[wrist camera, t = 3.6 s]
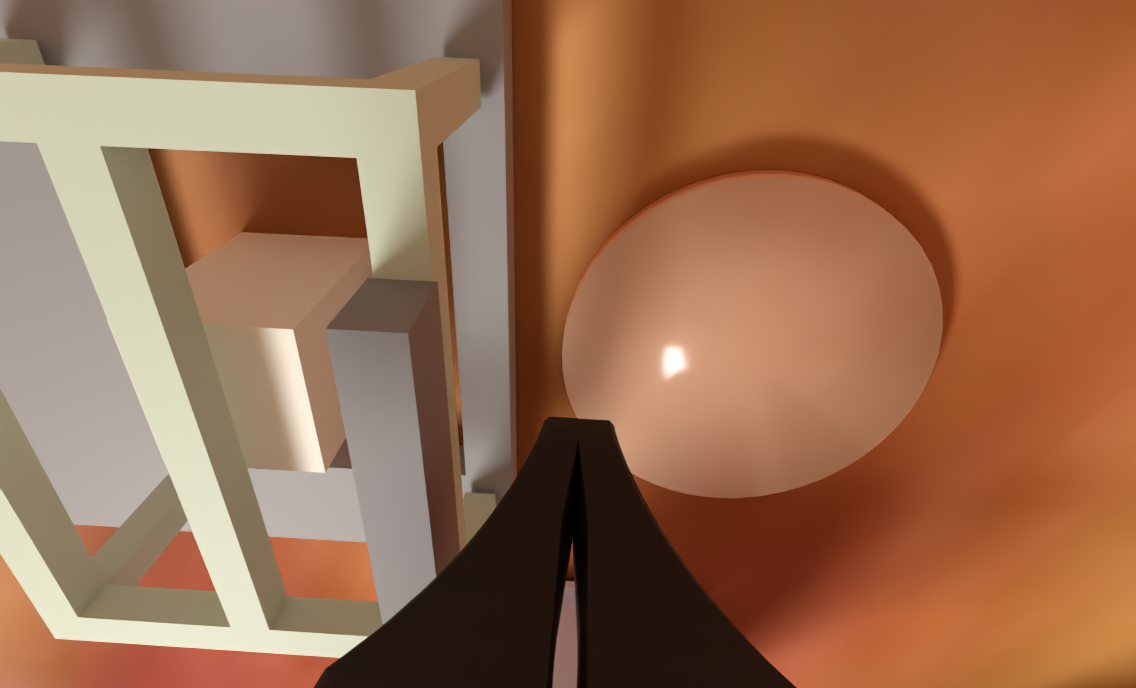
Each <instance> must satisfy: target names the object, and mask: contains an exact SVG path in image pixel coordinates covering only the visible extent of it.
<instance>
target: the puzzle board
mask: <svg viewBox="0 0 1136 688" xmlns="http://www.w3.org/2000/svg"><path fill="white" fill-rule="evenodd" d="M0 38H3V39H26V40H36V42H37V45H38V47H39V50H40V53H41V55H42V58H43V61H44V64H45V65H56V66H79V67H102V68H125V69H147V70H170V71H193V72H216V73H239V74H262V75H285V76H308V77H331V78H354V79H372V78H375V77H378V76H380V75H383V74H386V73H389V72H392V71H395V70H398V69H401V68H404V67H406V66H409V65H412V64H415V63H418V62H421V61H424V60H427V59H430V58H433V57H449V58H473V59H480V87H481V108H480V109H479V110H477V111H476V112H475V113H474V114H473V115H472V116H471V117H470V118H469V119H468V120H466V121H465V122H464V123H463V124H462V125H461V126H460V127H459V128H458V129H456V130H455V131H454V132H453V133H452V134H451V135H450V136H449V137H448V138H446V139H445V140H444V141H443V149H444V164H445V179H446V193H447V208H448V222H449V237H450V251H451V266H452V280H453V295H454V310H455V324H456V339H457V353H458V368H459V382H460V397H461V412H462V426H463V441H464V445H459V451H460V465H461V478H462V492H463V498H464V495H465V492H470V493H486V494H495V499H496V507H497V505H498V504H499V502H500V501H501V499H502V498H503V497H504V495H505V494H506V492H507V491H508V490H509V488H510V487H511V485H512V483H513V482H514V480H515V479H516V477H517V426H516V337H515V248H514V159H513V70H512V0H0ZM0 389H1V391H2V393H3V394H4V396H5V398H6V400H7V402H8V404H9V406H10V407H11V409H12V411H13V413H14V415H15V417H16V419H17V420H18V422H19V424H20V426H21V428H22V430H23V432H24V433H25V435H26V437H27V439H28V441H29V443H30V445H31V446H32V448H33V450H34V452H35V454H36V456H37V458H38V459H39V461H40V463H41V465H42V467H43V469H44V471H45V472H46V474H47V476H48V478H49V480H50V482H51V484H52V485H53V487H54V489H55V491H56V493H57V495H58V497H59V498H60V500H61V502H62V504H63V506H64V508H65V510H66V511H67V513H68V515H69V517H70V519H71V521H72V523H73V524H79V525H95V526H111V527H120V526H121V525H122V524H123V523H124V522H125V521H126V520H127V519H128V518H129V517H130V515H131V514H132V513H133V512H134V511H135V510H136V509H137V508H138V507H139V506H140V504H141V503H142V502H143V501H144V500H145V499H146V498H147V497H148V496H149V495H150V493H151V492H152V491H153V490H154V489H155V488H156V487H157V486H158V485H159V484H160V483H161V481H162V480H163V479H164V478H165V477H166V476H167V475H168V474H169V472H168V470H167V467H166V465H165V463H164V461H163V458H162V456H161V453H160V451H159V448H158V446H157V443H156V441H155V438H154V436H153V433H152V431H151V428H150V426H149V423H148V421H147V418H146V416H145V413H144V411H143V409H142V406H141V404H140V401H139V399H138V396H137V394H136V391H135V389H134V386H133V384H132V381H131V379H130V376H129V374H128V371H127V369H126V366H125V364H124V361H123V359H122V356H121V354H120V351H119V349H118V346H117V344H116V341H115V339H114V336H113V334H112V331H111V329H110V327H109V324H108V322H107V317H106V315H105V312H104V310H103V308H102V305H101V303H100V300H99V298H98V295H97V293H96V290H95V288H94V285H93V283H92V280H91V278H90V275H89V273H88V270H87V268H86V265H85V263H84V260H83V258H82V255H81V253H80V250H79V248H78V245H77V243H76V240H75V238H74V235H73V233H72V230H71V228H70V225H69V223H68V220H67V218H66V215H65V213H64V210H63V208H62V205H61V203H60V200H59V198H58V195H57V193H56V190H55V188H54V185H53V183H52V180H51V178H50V175H49V173H48V170H47V168H46V165H45V163H44V160H43V158H42V155H41V153H40V150H39V148H38V145H37V143H25V142H4V141H0ZM247 469H248V472H249V475H250V479H251V482H252V485H253V488H254V491H255V495H256V498H257V501H258V504H259V507H260V511H261V514H262V517H263V520H264V524H265V527H266V530H267V533H268V536H271V537H287V538H304V539H320V540H336V541H352V542H366V536H365V531H364V526H363V521H362V516H361V511H360V506H359V500H358V495H357V490H356V485H355V480H354V475H353V470H352V464H351V459H350V454H349V449H348V444H347V439H345V440H344V442H343V443H342V445H341V447H340V449H339V450H338V452H337V454H336V456H335V457H334V459H333V461H332V462H331V464H330V466H329V468H328V469H327V471H326V473H319V472H302V471H285V470H268V469H251V468H247ZM180 531H191V532H192V530H191V527H190V525H189V522H188V521H187V522H186V523H185V525H184V526H183V527H182V528H181V530H180Z"/></svg>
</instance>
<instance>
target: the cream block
mask: <svg viewBox="0 0 1136 688" xmlns="http://www.w3.org/2000/svg"><path fill="white" fill-rule="evenodd" d="M185 270H186V273H187V276H188V280H189V283H190V286H191V289H192V292H193V296H194V299H195V302H196V305H197V308H198V312H199V315H200V318H201V321H202V324H203V328H204V331H205V334H206V337H207V341H208V344H209V347H210V350H211V353H212V357H213V360H214V363H215V366H216V369H217V373H218V376H219V379H220V382H221V385H222V389H223V392H224V395H225V398H226V402H227V405H228V408H229V411H230V414H231V418H232V421H233V424H234V427H235V430H236V434H237V437H238V440H239V443H240V446H241V450H242V453H243V456H244V459H245V463H246V466H247V468H251V469H268V470H285V471H302V472H319V473H326V471H327V469H328V468H329V466H330V464H331V462H332V461H333V459H334V457H335V456H336V454H337V452H338V450H339V449H340V447H341V445H342V443H343V442H344V440H345V438H346V434H345V428H344V423H343V418H342V413H341V408H340V403H339V398H338V392H337V387H336V382H335V377H334V372H333V367H332V362H331V357H330V351H329V346H328V341H327V336H326V331H325V328H326V327H327V326H328V325H329V324H330V322H331V321H332V320H333V319H334V318H335V316H336V315H337V314H338V313H339V312H340V310H341V309H342V308H343V307H344V306H345V305H346V303H347V302H348V301H349V300H350V299H351V297H352V296H353V295H354V294H355V293H356V291H357V290H358V289H359V288H360V287H361V285H362V284H363V283H364V282H365V281H366V279H367V278H373V272H372V265H371V258H370V250H369V243H368V238H351V237H331V236H310V235H290V234H270V233H250V232H241V233H239V234H238V235H236V236H235V237H233V238H231V239H230V240H228V241H227V242H225V243H224V244H222V245H221V246H219V247H218V248H216V249H215V250H213V251H211V252H210V253H208V254H207V255H205V256H204V257H202V258H201V259H199V260H198V261H196V262H194V263H193V264H191V265H190V266H188V267H187V268H185ZM107 322H108V320H107ZM108 324H109V322H108ZM109 327H110V325H109ZM110 329H111V327H110ZM111 331H112V330H111ZM112 334H113V332H112ZM113 336H114V335H113ZM114 339H115V337H114ZM115 341H116V340H115ZM116 344H117V342H116ZM117 346H118V345H117ZM118 349H119V347H118ZM119 351H120V350H119ZM120 354H121V352H120ZM121 356H122V355H121ZM122 359H123V357H122ZM123 361H124V360H123ZM124 364H125V362H124ZM125 366H126V365H125ZM126 369H127V367H126ZM127 371H128V370H127ZM128 374H129V372H128ZM129 376H130V375H129ZM130 379H131V377H130ZM131 381H132V380H131ZM132 384H133V382H132ZM133 386H134V385H133ZM134 389H135V387H134ZM135 391H136V390H135ZM136 394H137V392H136ZM137 396H138V395H137ZM138 399H139V397H138ZM139 401H140V400H139ZM140 404H141V402H140ZM141 406H142V405H141ZM142 409H143V407H142ZM143 411H144V410H143ZM144 413H145V412H144ZM145 416H146V415H145ZM146 418H147V417H146ZM147 421H148V420H147ZM148 423H149V422H148ZM149 426H150V425H149ZM150 428H151V427H150ZM151 431H152V430H151ZM152 433H153V432H152ZM153 436H154V435H153ZM154 438H155V437H154ZM155 441H156V440H155ZM156 443H157V442H156ZM157 446H158V445H157ZM158 448H159V447H158ZM159 451H160V450H159ZM160 453H161V452H160ZM161 456H162V455H161ZM162 458H163V457H162ZM163 461H164V460H163ZM164 463H165V462H164Z"/></svg>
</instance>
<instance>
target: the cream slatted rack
mask: <svg viewBox="0 0 1136 688" xmlns="http://www.w3.org/2000/svg"><path fill="white" fill-rule="evenodd" d="M480 108H481V87H480V59H473V58H449V57H433V58H430V59H427V60H424V61H421V62H418V63H415V64H412V65H409V66H406V67H404V68H401V69H398V70H395V71H392V72H389V73H386V74H383V75H380V76H378V77H375V78H372V79H354V78H331V77H308V76H285V75H262V74H239V73H216V72H193V71H170V70H147V69H125V68H102V67H79V66H56V65H45V64H44V61H43V58H42V55H41V53H40V50H39V47H38V45H37V42H36V40H26V39H3V38H0V141H4V142H25V143H37V145H38V148H39V150H40V153H41V155H42V158H43V160H44V163H45V165H46V168H47V170H48V173H49V175H50V178H51V180H52V183H53V185H54V188H55V190H56V193H57V195H58V198H59V200H60V203H61V205H62V208H63V210H64V213H65V215H66V218H67V220H68V223H69V225H70V228H71V230H72V233H73V235H74V238H75V240H76V243H77V245H78V248H79V250H80V253H81V255H82V258H83V260H84V263H85V265H86V268H87V270H88V273H89V275H90V278H91V280H92V283H93V285H94V288H95V290H96V293H97V295H98V298H99V300H100V303H101V305H102V308H103V310H104V312H105V315H106V317H107V320H108V322H109V325H110V327H111V330H112V332H113V335H114V337H115V340H116V342H117V345H118V347H119V350H120V352H121V355H122V357H123V360H124V362H125V365H126V367H127V370H128V372H129V375H130V377H131V380H132V382H133V385H134V387H135V390H136V392H137V395H138V397H139V400H140V402H141V405H142V407H143V410H144V412H145V415H146V417H147V420H148V422H149V425H150V427H151V430H152V432H153V435H154V437H155V440H156V442H157V445H158V447H159V450H160V452H161V455H162V457H163V460H164V462H165V465H166V467H167V470H168V472H169V474H168V475H167V476H166V477H165V478H164V479H163V480H162V481H161V483H160V484H159V485H158V486H157V487H156V488H155V489H154V490H153V491H152V492H151V493H150V495H149V496H148V497H147V498H146V499H145V500H144V501H143V502H142V503H141V504H140V506H139V507H138V508H137V509H136V510H135V511H134V512H133V513H132V514H131V515H130V517H129V518H128V519H127V520H126V521H125V522H124V523H123V524H122V525H121V526H120V528H119V529H118V530H117V531H116V532H115V533H114V534H113V535H112V536H111V537H110V538H109V540H108V541H107V542H106V543H105V544H104V545H103V546H102V547H101V548H100V549H99V551H98V552H97V553H96V554H95V555H94V556H93V557H92V558H91V556H90V554H89V552H88V550H87V549H86V547H85V545H84V543H83V541H82V539H81V537H80V536H79V534H78V532H77V530H76V528H75V526H74V524H73V523H72V521H71V519H70V517H69V515H68V513H67V511H66V510H65V508H64V506H63V504H62V502H61V500H60V498H59V497H58V495H57V493H56V491H55V489H54V487H53V485H52V484H51V482H50V480H49V478H48V476H47V474H46V472H45V471H44V469H43V467H42V465H41V463H40V461H39V459H38V458H37V456H36V454H35V452H34V450H33V448H32V446H31V445H30V443H29V441H28V439H27V437H26V435H25V433H24V432H23V430H22V428H21V426H20V424H19V422H18V420H17V419H16V417H15V415H14V413H13V411H12V409H11V407H10V406H9V404H8V402H7V400H6V398H5V396H4V394H3V393H2V391H1V389H0V554H1V555H2V557H3V559H4V560H5V562H6V563H7V565H8V566H9V568H10V569H11V571H12V572H13V574H14V576H15V577H16V579H17V580H18V582H19V583H20V585H21V586H22V588H23V589H24V591H25V593H26V594H27V596H28V597H29V599H30V600H31V602H32V603H33V605H34V606H35V608H36V609H37V611H38V613H39V614H40V616H41V617H42V619H43V620H44V622H45V623H46V625H47V626H48V628H49V630H50V631H51V633H52V634H53V636H54V637H55V639H68V640H83V641H98V642H113V643H128V644H143V645H158V646H173V647H188V648H203V649H218V650H233V651H247V652H262V653H277V654H292V655H307V656H322V657H337V658H341V657H342V656H343V655H345V654H346V653H347V652H349V651H350V650H351V649H353V648H354V647H355V646H357V645H358V644H359V643H360V642H362V641H363V640H364V639H366V638H367V637H368V636H370V635H371V634H372V633H374V632H375V631H376V630H377V629H379V628H380V627H381V626H382V625H384V624H385V623H386V622H387V621H388V620H389V619H391V618H392V617H393V616H394V615H395V614H396V613H397V612H398V611H400V610H401V609H402V608H403V607H404V606H405V605H406V604H408V603H409V602H410V601H411V600H412V599H413V598H414V597H415V596H417V595H418V594H419V593H420V592H421V591H422V590H423V589H424V588H425V587H426V586H427V585H428V584H430V583H431V582H432V581H433V580H434V579H435V578H436V577H437V576H438V575H439V574H440V573H441V571H442V570H443V569H444V568H445V567H446V566H447V565H448V564H449V563H450V562H451V561H452V560H453V559H454V558H455V557H456V556H457V555H458V553H459V552H460V551H461V550H462V549H463V548H464V547H465V546H466V544H467V543H468V542H469V541H470V540H471V539H472V537H473V536H474V535H475V534H476V533H477V531H478V530H479V529H480V528H481V527H482V525H483V524H484V523H485V521H486V520H487V519H488V518H489V516H490V515H491V514H492V512H493V511H494V509H495V508H496V499H495V494H486V493H470V492H465V495H464V498H463V492H462V478H461V465H460V451H459V438H458V424H457V411H456V397H455V383H454V370H453V356H452V343H451V329H450V316H449V302H448V289H447V275H446V262H445V248H444V234H443V221H442V207H441V194H440V180H439V167H438V153H437V147H438V146H439V145H440V144H441V143H442V142H443V141H444V140H445V139H446V138H448V137H449V136H450V135H451V134H452V133H453V132H454V131H455V130H456V129H458V128H459V127H460V126H461V125H462V124H463V123H464V122H465V121H466V120H468V119H469V118H470V117H471V116H472V115H473V114H474V113H475V112H476V111H477V110H479V109H480ZM148 148H154V149H175V150H196V151H218V152H239V153H261V154H282V155H303V156H325V157H346V158H357V165H358V173H359V180H360V187H361V194H362V201H363V208H364V215H365V222H366V229H367V236H368V243H369V250H370V258H371V265H372V272H373V278H367V279H366V281H365V282H364V283H363V284H362V285H361V287H360V288H359V289H358V290H357V291H356V293H355V294H354V295H353V296H352V297H351V299H350V300H349V301H348V302H347V303H346V305H345V306H344V307H343V308H342V309H341V310H340V312H339V313H338V314H337V315H336V316H335V318H334V319H333V320H332V321H331V322H330V324H329V325H328V326H327V327H326V328H325V331H326V336H327V341H328V346H329V351H330V357H331V362H332V367H333V372H334V377H335V382H336V387H337V392H338V398H339V403H340V408H341V413H342V418H343V423H344V428H345V434H346V439H347V444H348V449H349V454H350V459H351V464H352V470H353V475H354V480H355V485H356V490H357V495H358V500H359V506H360V511H361V516H362V521H363V526H364V531H365V536H366V542H367V547H368V552H369V557H370V562H371V567H372V572H373V577H374V583H375V588H376V593H377V598H378V602H372V601H356V600H341V599H325V598H310V597H294V596H287V594H286V591H285V588H284V585H283V581H282V578H281V575H280V572H279V569H278V565H277V562H276V559H275V556H274V552H273V549H272V546H271V543H270V540H269V536H268V533H267V530H266V527H265V524H264V520H263V517H262V514H261V511H260V507H259V504H258V501H257V498H256V495H255V491H254V488H253V485H252V482H251V479H250V475H249V472H248V469H247V466H246V463H245V459H244V456H243V453H242V450H241V446H240V443H239V440H238V437H237V434H236V430H235V427H234V424H233V421H232V418H231V414H230V411H229V408H228V405H227V402H226V398H225V395H224V392H223V389H222V385H221V382H220V379H219V376H218V373H217V369H216V366H215V363H214V360H213V357H212V353H211V350H210V347H209V344H208V341H207V337H206V334H205V331H204V328H203V324H202V321H201V318H200V315H199V312H198V308H197V305H196V302H195V299H194V296H193V292H192V289H191V286H190V283H189V280H188V276H187V273H186V270H185V267H184V263H183V260H182V257H181V254H180V251H179V247H178V244H177V241H176V238H175V235H174V231H173V228H172V225H171V222H170V219H169V215H168V212H167V209H166V206H165V202H164V199H163V196H162V193H161V190H160V186H159V183H158V180H157V177H156V174H155V170H154V167H153V164H152V161H151V158H150V154H149V151H148ZM187 521H188V522H189V525H190V527H191V530H192V532H193V535H194V537H195V540H196V542H197V544H198V547H199V549H200V552H201V554H202V557H203V559H204V562H205V564H206V567H207V569H208V572H209V574H210V577H211V579H212V582H213V584H214V587H215V589H216V591H201V590H186V589H170V588H155V587H139V586H136V585H137V584H138V583H139V581H140V580H141V579H142V578H143V576H144V575H145V574H146V572H147V571H148V570H149V569H150V567H151V566H152V565H153V564H154V562H155V561H156V560H157V559H158V557H159V556H160V555H161V554H162V552H163V551H164V550H165V549H166V547H167V546H168V545H169V543H170V542H171V541H172V540H173V538H174V537H175V536H176V535H177V533H178V532H179V531H180V530H181V528H182V527H183V526H184V525H185V523H186V522H187Z"/></svg>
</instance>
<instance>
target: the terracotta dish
mask: <svg viewBox="0 0 1136 688" xmlns="http://www.w3.org/2000/svg"><path fill="white" fill-rule="evenodd" d="M942 332H943V306H942V300H941V294H940V287H939V284H938V281H937V279H936V276H935V273H934V270H933V267H932V265H931V263H930V261H929V259H928V258H927V256H926V254H925V252H924V250H923V249H922V247H921V245H920V244H919V243H918V242H917V240H916V239H915V238H914V237H913V236H912V234H911V233H910V232H909V231H908V229H907V228H906V227H905V226H904V225H902V224H901V223H900V222H899V221H898V220H897V219H895V218H894V217H893V216H892V215H891V214H890V213H889V212H887V211H886V210H885V209H883V208H882V207H881V206H879V205H878V204H877V203H875V202H874V201H872V200H870V199H869V198H867V197H866V196H864V195H862V194H861V193H859V192H857V191H856V190H854V189H852V188H849V187H847V186H845V185H842V184H840V183H838V182H835V181H833V180H830V179H827V178H823V177H819V176H815V175H811V174H807V173H801V172H792V171H784V170H749V171H743V172H736V173H729V174H722V175H719V176H715V177H712V178H708V179H704V180H701V181H697V182H694V183H692V184H689V185H687V186H685V187H682V188H680V189H677V190H675V191H673V192H670V193H668V194H667V195H665V196H663V197H661V198H660V199H658V200H656V201H654V202H653V203H651V204H649V205H647V206H646V207H644V208H643V209H642V210H640V211H639V212H638V213H636V214H635V215H634V216H632V217H631V218H630V219H628V220H627V221H626V222H624V223H623V224H622V225H621V226H620V227H619V228H618V229H617V230H616V231H615V232H614V233H613V234H612V235H611V236H610V237H609V238H608V239H607V240H606V241H605V242H604V244H603V245H602V246H601V247H600V249H599V250H598V251H597V252H596V254H595V255H594V256H593V257H592V259H591V260H590V262H589V264H588V265H587V267H586V269H585V270H584V272H583V274H582V275H581V277H580V279H579V281H578V284H577V286H576V288H575V291H574V293H573V295H572V298H571V301H570V305H569V308H568V312H567V316H566V320H565V329H564V338H563V347H562V367H563V377H564V382H565V387H566V392H567V395H568V398H569V400H570V403H571V406H572V409H573V411H574V413H575V415H576V416H577V418H579V419H596V420H609V421H610V422H611V423H612V424H613V425H614V427H615V432H616V435H617V439H618V442H619V445H620V447H621V450H622V453H623V455H624V458H625V460H626V463H627V465H628V467H629V470H630V472H631V473H632V474H634V475H636V476H637V477H639V478H641V479H644V480H646V481H648V482H650V483H653V484H655V485H657V486H660V487H663V488H667V489H670V490H673V491H676V492H681V493H685V494H690V495H695V496H703V497H712V498H745V497H758V496H764V495H770V494H775V493H781V492H784V491H788V490H792V489H795V488H799V487H802V486H805V485H808V484H810V483H813V482H816V481H818V480H821V479H823V478H825V477H827V476H829V475H831V474H834V473H836V472H838V471H840V470H842V469H844V468H845V467H847V466H848V465H850V464H852V463H853V462H855V461H857V460H858V459H860V458H861V457H863V456H864V455H865V454H867V453H868V452H869V451H871V450H872V449H873V448H875V447H876V446H877V445H879V444H880V443H881V442H882V441H883V440H884V439H885V438H886V437H887V436H888V435H889V434H890V433H891V432H893V431H894V430H895V429H896V428H897V426H898V425H899V424H900V423H901V422H902V420H903V419H904V418H905V417H906V416H907V415H908V413H909V412H910V411H911V409H912V408H913V406H914V405H915V403H916V402H917V400H918V399H919V397H920V396H921V394H922V393H923V391H924V389H925V387H926V385H927V383H928V381H929V379H930V376H931V374H932V372H933V369H934V366H935V363H936V360H937V357H938V354H939V350H940V344H941V338H942Z"/></svg>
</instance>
